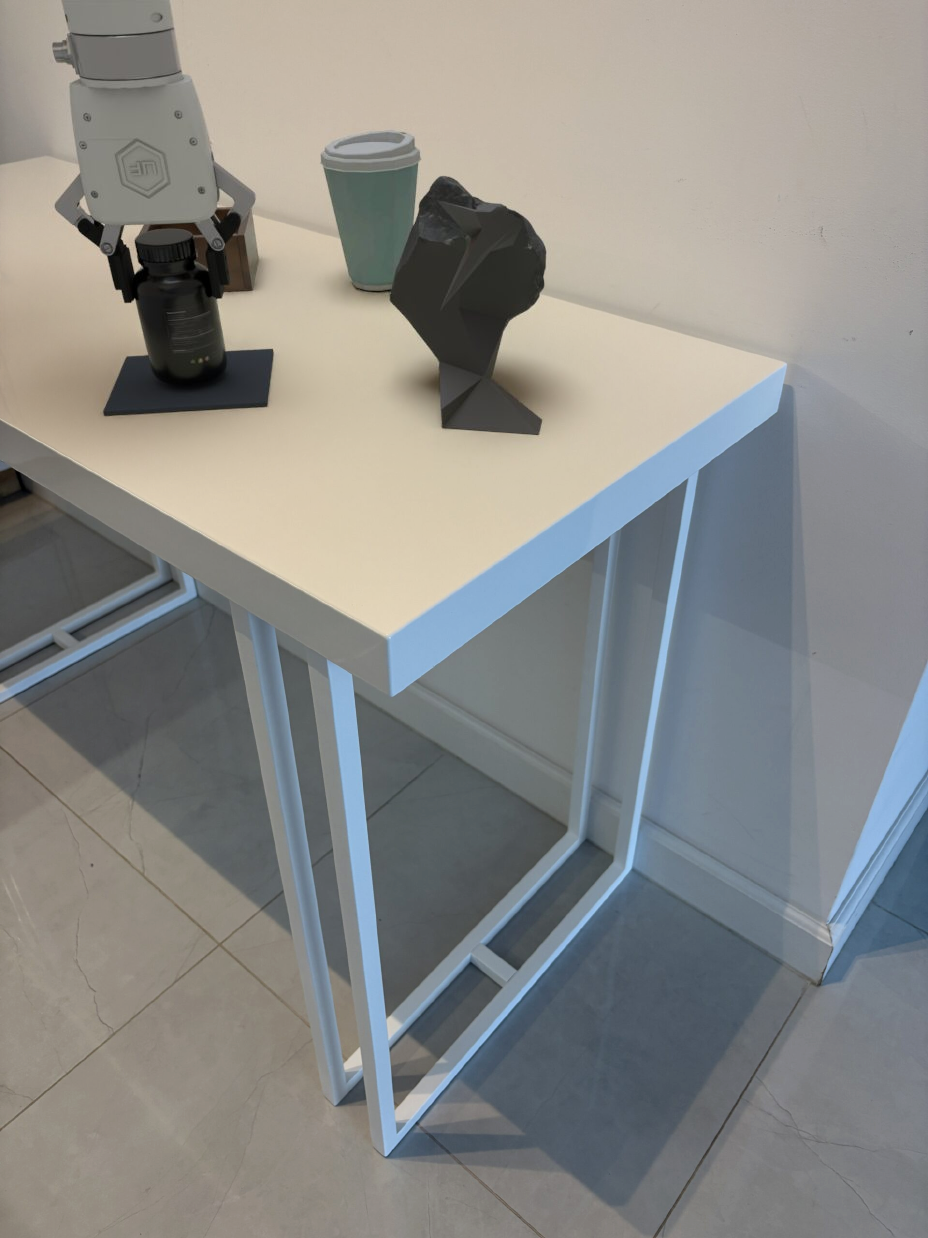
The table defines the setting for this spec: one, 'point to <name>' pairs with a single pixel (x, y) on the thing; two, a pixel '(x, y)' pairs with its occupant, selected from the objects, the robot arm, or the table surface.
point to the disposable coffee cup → (373, 201)
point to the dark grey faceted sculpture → (469, 299)
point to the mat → (192, 386)
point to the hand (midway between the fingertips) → (175, 293)
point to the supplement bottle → (177, 309)
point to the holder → (237, 249)
